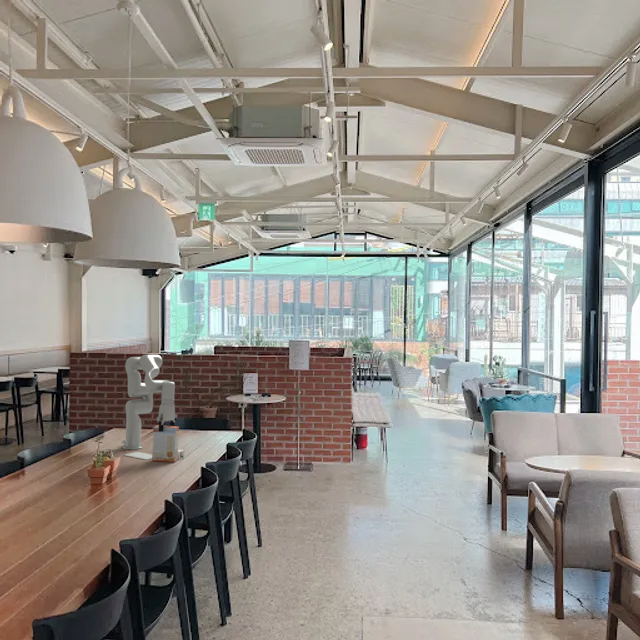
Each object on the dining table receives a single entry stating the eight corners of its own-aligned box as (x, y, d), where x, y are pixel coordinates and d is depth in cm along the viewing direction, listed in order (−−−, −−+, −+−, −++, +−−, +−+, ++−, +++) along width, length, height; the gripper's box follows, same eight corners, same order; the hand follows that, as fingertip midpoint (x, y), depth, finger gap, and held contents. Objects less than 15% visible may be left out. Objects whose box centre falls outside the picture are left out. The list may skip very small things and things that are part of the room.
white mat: (123, 455, 367) (123, 454, 367) (136, 452, 377) (136, 451, 377) (147, 460, 359) (147, 459, 359) (159, 457, 368) (159, 456, 368)
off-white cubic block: (172, 458, 366) (172, 450, 366) (177, 457, 371) (178, 449, 371) (178, 459, 364) (179, 451, 364) (184, 458, 368) (184, 450, 368)
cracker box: (177, 460, 362) (179, 426, 362) (174, 462, 356) (176, 427, 356) (155, 458, 363) (157, 424, 363) (151, 461, 357) (153, 426, 357)
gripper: (172, 400, 369) (171, 427, 369) (152, 402, 354) (151, 431, 353) (182, 401, 366) (180, 429, 365) (162, 403, 350) (161, 433, 350)
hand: (166, 430), depth 359 cm, fingers open, 9 cm apart
